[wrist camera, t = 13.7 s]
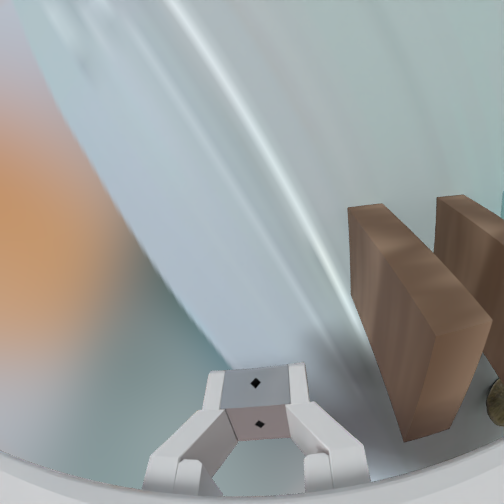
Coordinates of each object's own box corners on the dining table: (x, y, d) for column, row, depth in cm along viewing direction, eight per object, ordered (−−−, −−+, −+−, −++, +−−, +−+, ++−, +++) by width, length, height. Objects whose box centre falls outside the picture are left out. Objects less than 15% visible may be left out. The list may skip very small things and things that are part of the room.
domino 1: (382, 203, 15) (492, 320, 6) (381, 289, 17) (449, 428, 8) (347, 207, 15) (435, 335, 7) (350, 294, 17) (403, 442, 9)
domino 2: (463, 194, 14) (588, 284, 6) (455, 275, 16) (542, 387, 8) (436, 197, 15) (562, 295, 6) (430, 280, 17) (513, 402, 8)
